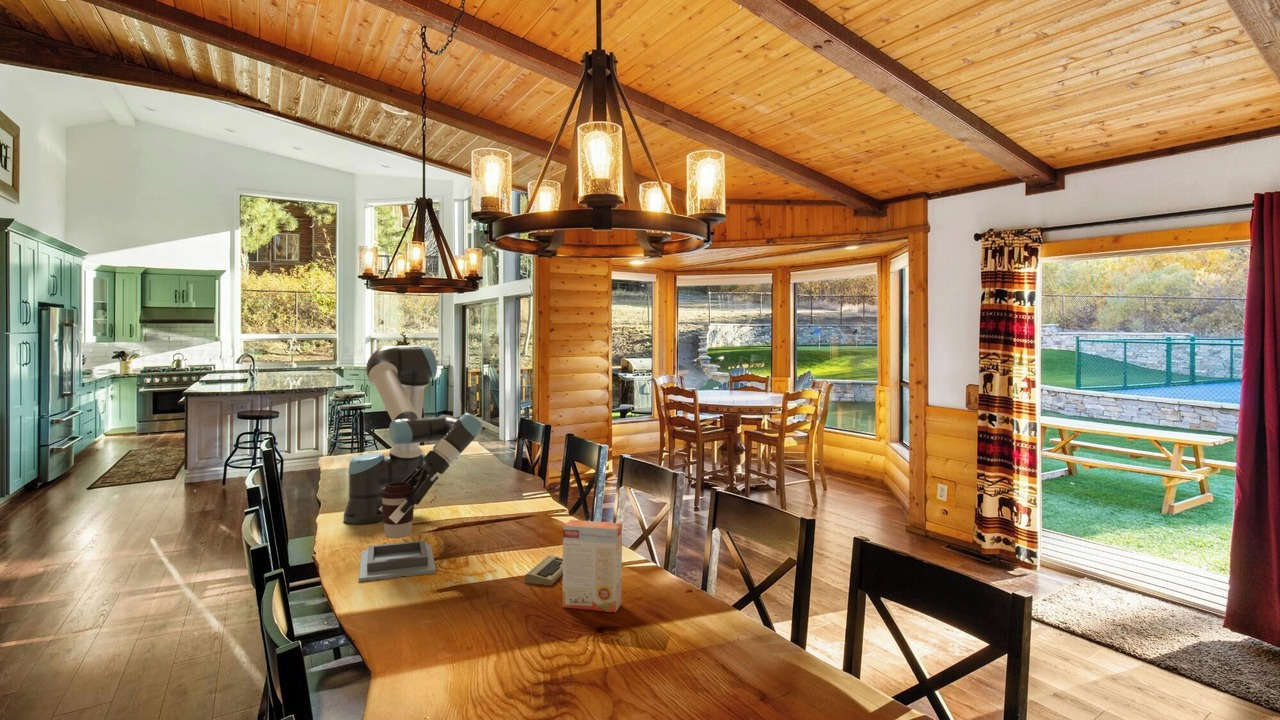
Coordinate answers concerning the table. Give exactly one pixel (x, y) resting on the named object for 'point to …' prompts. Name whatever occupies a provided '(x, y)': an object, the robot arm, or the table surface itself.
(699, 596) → the table surface
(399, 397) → the robot arm
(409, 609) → the table surface
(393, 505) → the coffee cup
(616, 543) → the cracker box
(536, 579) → the computer
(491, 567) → the table surface
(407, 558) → the pocket plate
